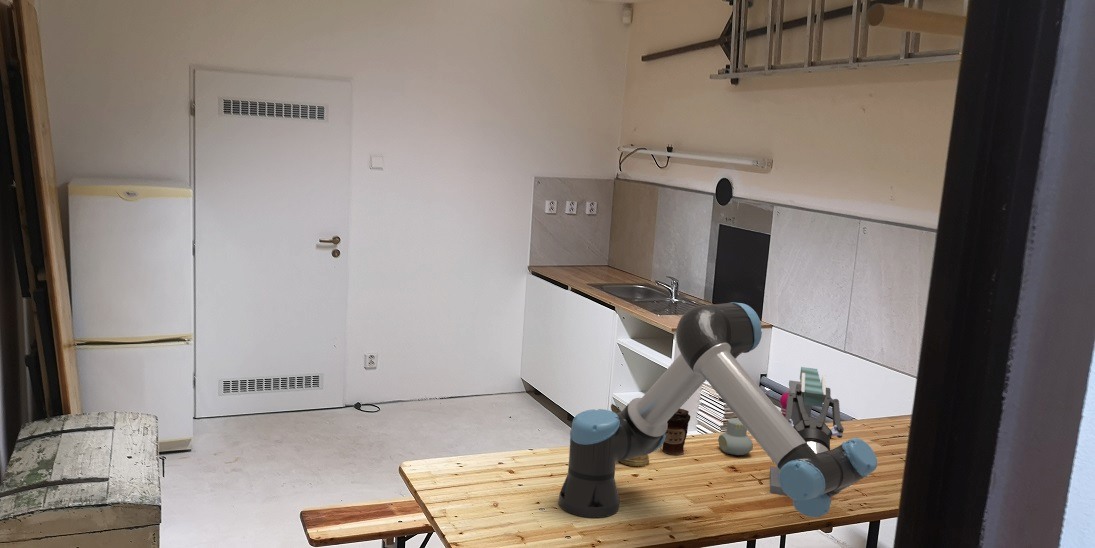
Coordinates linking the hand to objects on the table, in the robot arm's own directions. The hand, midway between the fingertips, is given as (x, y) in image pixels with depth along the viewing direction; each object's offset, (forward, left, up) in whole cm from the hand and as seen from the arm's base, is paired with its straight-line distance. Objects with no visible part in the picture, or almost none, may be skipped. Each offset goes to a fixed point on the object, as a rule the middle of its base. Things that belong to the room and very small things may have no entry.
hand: (813, 378), depth 201 cm
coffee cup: (-46, +26, -37) cm, 65 cm away
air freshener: (-32, +40, -38) cm, 64 cm away
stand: (-10, +26, -37) cm, 46 cm away
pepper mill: (-21, +54, -37) cm, 69 cm away
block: (-1, +3, -4) cm, 5 cm away
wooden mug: (-52, +8, -37) cm, 65 cm away
